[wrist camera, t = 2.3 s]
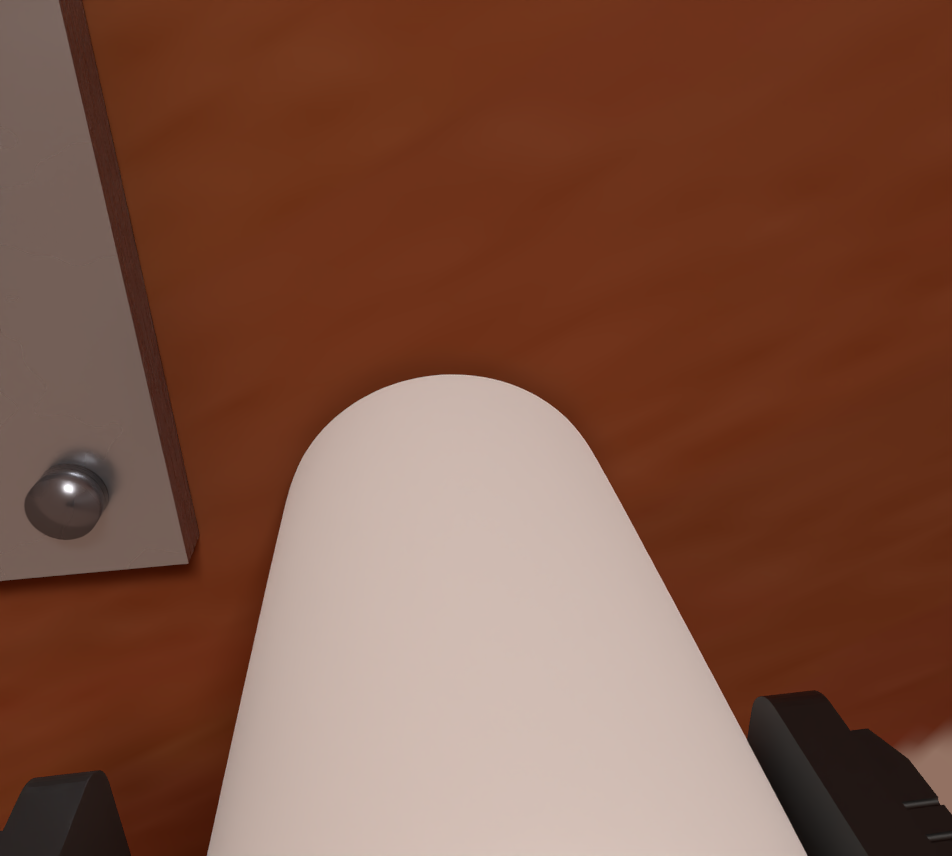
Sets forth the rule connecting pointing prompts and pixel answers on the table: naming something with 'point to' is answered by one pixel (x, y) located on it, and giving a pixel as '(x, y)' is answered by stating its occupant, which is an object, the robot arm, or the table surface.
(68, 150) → the duct flange
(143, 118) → the table surface
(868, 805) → the robot arm
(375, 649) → the can
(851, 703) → the table surface
